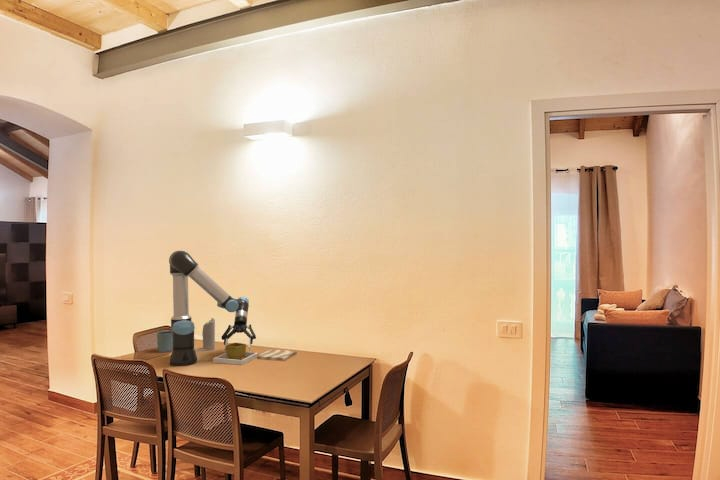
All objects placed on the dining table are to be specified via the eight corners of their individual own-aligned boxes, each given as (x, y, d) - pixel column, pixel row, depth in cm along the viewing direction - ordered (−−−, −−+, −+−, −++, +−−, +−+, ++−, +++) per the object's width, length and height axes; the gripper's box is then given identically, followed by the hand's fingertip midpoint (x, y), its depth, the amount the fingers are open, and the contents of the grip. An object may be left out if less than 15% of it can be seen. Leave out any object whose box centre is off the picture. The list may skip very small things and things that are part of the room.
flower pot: (246, 358, 265) (246, 343, 265) (236, 362, 257) (236, 346, 257) (235, 357, 269) (235, 342, 269) (224, 360, 261) (225, 345, 261)
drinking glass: (153, 351, 282) (153, 333, 283) (164, 348, 292) (164, 330, 292) (166, 353, 280) (166, 334, 280) (177, 349, 289) (177, 331, 289)
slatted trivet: (257, 358, 266) (257, 356, 266) (270, 351, 283) (270, 349, 283) (284, 360, 261) (284, 358, 261) (296, 353, 278) (296, 351, 278)
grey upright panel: (192, 349, 290) (192, 318, 290) (214, 347, 294) (214, 317, 294) (191, 351, 283) (191, 320, 283) (214, 350, 287) (214, 319, 288)
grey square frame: (212, 362, 257) (212, 358, 257) (230, 354, 275) (230, 350, 275) (242, 364, 252) (242, 360, 252) (258, 356, 270) (258, 352, 270)
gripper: (261, 322, 283) (259, 351, 268) (221, 323, 280) (216, 352, 265) (260, 315, 278) (258, 344, 263) (219, 316, 274) (215, 346, 259)
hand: (237, 348), depth 264 cm, fingers open, 13 cm apart
